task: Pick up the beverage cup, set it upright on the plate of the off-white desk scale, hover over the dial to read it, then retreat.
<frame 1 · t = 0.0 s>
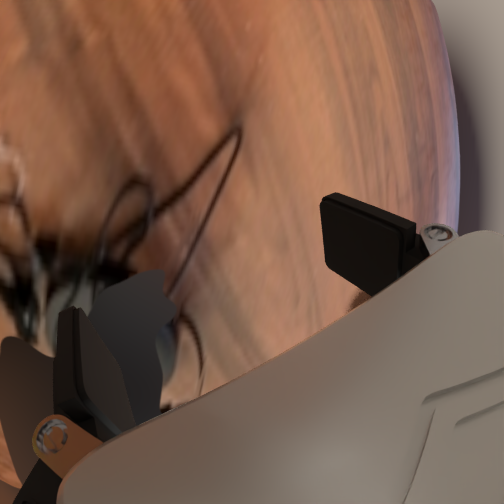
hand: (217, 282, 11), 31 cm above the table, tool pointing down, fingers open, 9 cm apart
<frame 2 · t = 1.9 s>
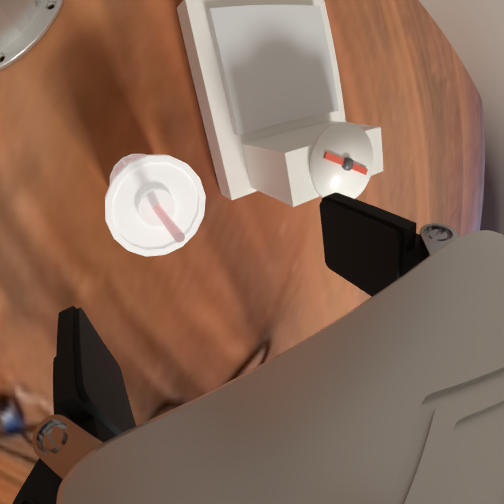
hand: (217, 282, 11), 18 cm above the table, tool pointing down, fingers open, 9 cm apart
scale: (263, 65, 25), on the table
beverage cup: (135, 179, 25), on the table
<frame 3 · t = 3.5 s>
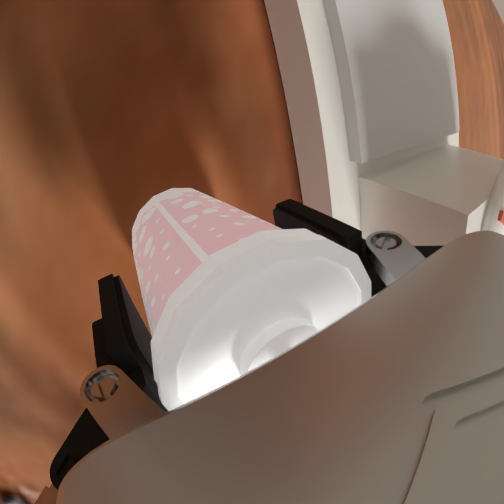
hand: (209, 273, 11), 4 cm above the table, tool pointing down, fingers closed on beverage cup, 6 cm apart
scale: (370, 54, 15), on the table
beverage cup: (178, 233, 15), on the table, touching gripper
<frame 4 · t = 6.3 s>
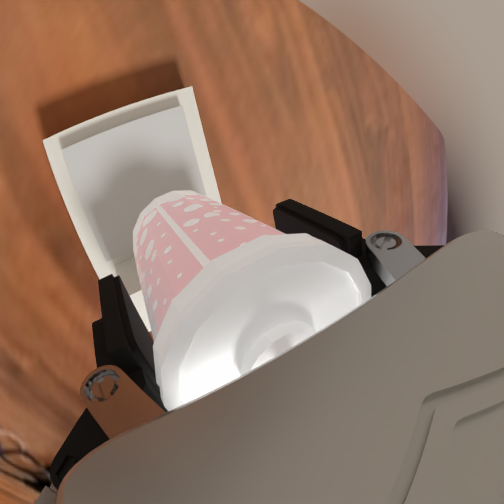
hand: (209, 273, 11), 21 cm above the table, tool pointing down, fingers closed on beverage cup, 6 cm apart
scale: (135, 178, 28), on the table
beverage cup: (178, 236, 15), point 17 cm above the table, touching gripper
when the fingers open (9 cm above the table, at t = 8.9 s): beverage cup drops 1 cm, resting on scale.
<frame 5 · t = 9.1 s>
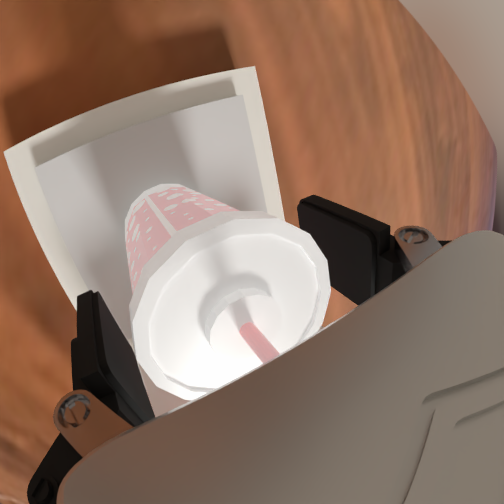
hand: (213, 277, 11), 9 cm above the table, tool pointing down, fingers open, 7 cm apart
scale: (159, 209, 19), on the table
beverage cup: (166, 225, 16), point 3 cm above the table, touching scale
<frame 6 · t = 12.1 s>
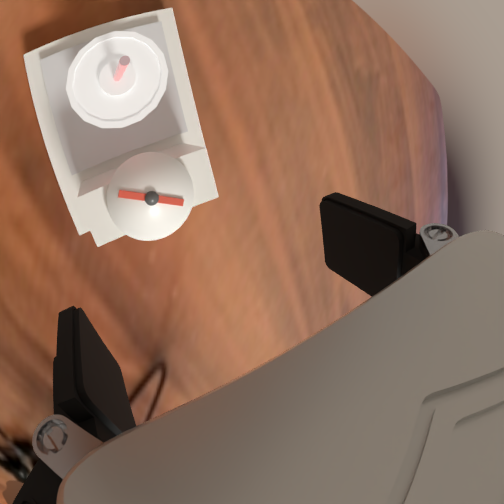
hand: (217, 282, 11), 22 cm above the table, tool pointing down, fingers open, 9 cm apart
scale: (111, 96, 24), on the table
beverage cup: (110, 94, 22), point 3 cm above the table, touching scale
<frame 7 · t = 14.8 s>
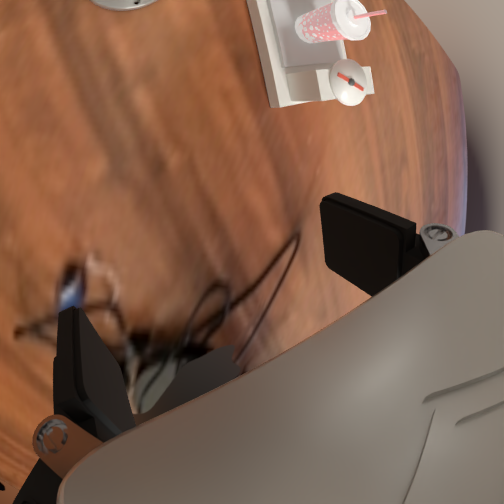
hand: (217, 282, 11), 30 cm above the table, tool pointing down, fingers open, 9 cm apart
scale: (295, 32, 37), on the table
beverage cup: (307, 29, 35), point 3 cm above the table, touching scale
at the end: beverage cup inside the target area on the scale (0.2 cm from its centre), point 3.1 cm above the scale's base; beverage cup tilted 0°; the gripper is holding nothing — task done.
